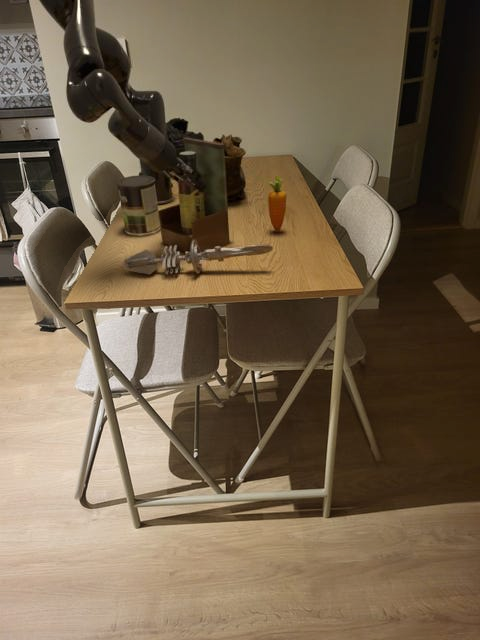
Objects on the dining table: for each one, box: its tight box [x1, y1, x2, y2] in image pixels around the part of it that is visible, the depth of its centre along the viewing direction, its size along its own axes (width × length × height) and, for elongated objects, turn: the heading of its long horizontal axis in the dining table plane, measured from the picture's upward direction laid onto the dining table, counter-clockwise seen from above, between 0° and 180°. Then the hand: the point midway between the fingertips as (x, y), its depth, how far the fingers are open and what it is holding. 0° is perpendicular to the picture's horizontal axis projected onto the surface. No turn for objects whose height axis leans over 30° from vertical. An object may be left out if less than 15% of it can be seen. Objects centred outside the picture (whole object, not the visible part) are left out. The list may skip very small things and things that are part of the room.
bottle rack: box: [158, 138, 231, 253], centre depth 119 cm, size 14×12×25 cm
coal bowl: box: [166, 117, 205, 159], centre depth 187 cm, size 20×20×19 cm
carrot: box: [267, 175, 287, 233], centre depth 126 cm, size 5×5×15 cm
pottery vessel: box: [212, 134, 247, 202], centre depth 153 cm, size 25×11×20 cm, turn 3°
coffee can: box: [116, 174, 161, 237], centre depth 132 cm, size 10×10×14 cm
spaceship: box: [123, 239, 274, 276], centre depth 109 cm, size 8×35×8 cm
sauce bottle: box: [177, 151, 205, 236], centre depth 119 cm, size 7×6×20 cm
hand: (195, 186), depth 119 cm, fingers closed on sauce bottle, 6 cm apart
